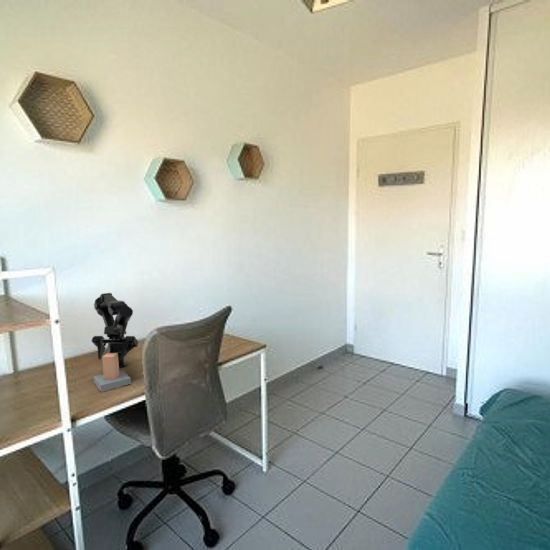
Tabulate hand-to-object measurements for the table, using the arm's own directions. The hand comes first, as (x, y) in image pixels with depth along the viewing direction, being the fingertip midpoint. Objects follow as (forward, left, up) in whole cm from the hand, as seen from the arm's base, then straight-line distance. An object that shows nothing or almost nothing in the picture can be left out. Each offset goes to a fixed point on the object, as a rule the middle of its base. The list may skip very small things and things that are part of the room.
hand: (109, 359), depth 164 cm
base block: (0, 0, -11) cm, 11 cm away
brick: (0, 0, -8) cm, 8 cm away
